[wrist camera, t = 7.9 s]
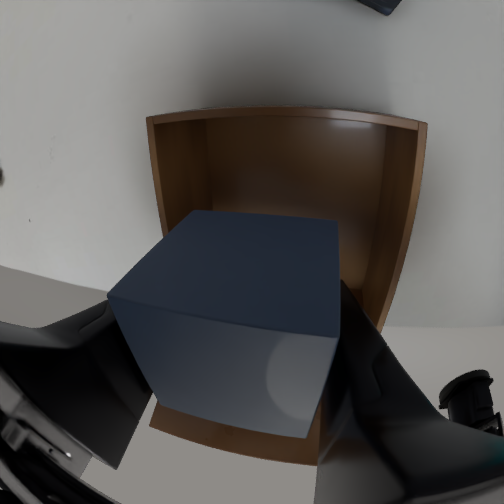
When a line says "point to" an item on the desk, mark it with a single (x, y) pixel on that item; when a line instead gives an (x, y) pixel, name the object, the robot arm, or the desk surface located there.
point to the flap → (240, 437)
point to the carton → (300, 178)
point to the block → (237, 318)
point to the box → (382, 5)
